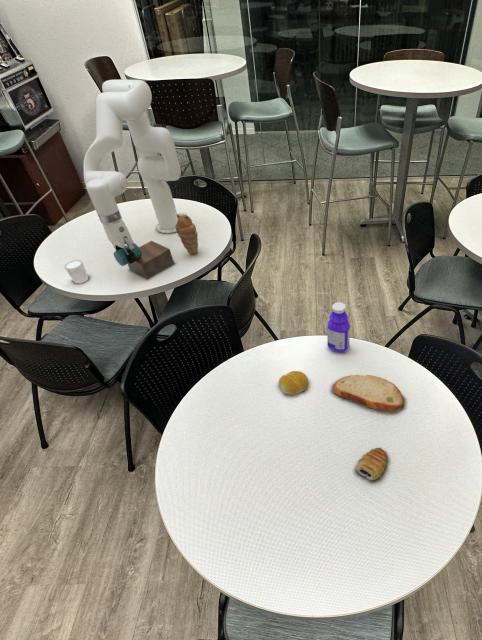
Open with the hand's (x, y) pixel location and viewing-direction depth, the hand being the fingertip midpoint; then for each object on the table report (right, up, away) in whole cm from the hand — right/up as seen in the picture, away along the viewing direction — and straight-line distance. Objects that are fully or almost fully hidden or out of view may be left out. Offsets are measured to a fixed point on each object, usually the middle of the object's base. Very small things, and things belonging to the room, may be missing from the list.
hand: (127, 259), depth 168 cm
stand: (+6, 0, +11) cm, 12 cm away
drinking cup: (+1, 0, +1) cm, 1 cm away
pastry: (+90, -72, -57) cm, 129 cm away
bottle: (+83, -38, -26) cm, 95 cm away
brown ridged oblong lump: (+21, +7, +17) cm, 28 cm away
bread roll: (+68, -50, -37) cm, 93 cm away
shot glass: (-22, -7, +6) cm, 24 cm away
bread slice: (+91, -54, -41) cm, 113 cm away
